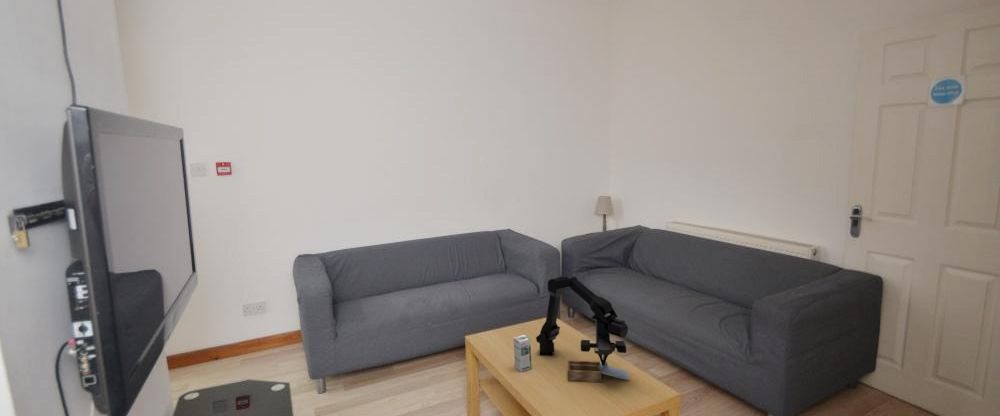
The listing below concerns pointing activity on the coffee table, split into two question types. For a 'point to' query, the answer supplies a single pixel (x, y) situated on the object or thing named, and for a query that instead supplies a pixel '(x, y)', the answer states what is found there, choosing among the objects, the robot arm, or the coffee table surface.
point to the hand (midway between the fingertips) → (603, 364)
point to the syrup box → (522, 353)
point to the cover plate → (614, 371)
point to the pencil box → (584, 371)
